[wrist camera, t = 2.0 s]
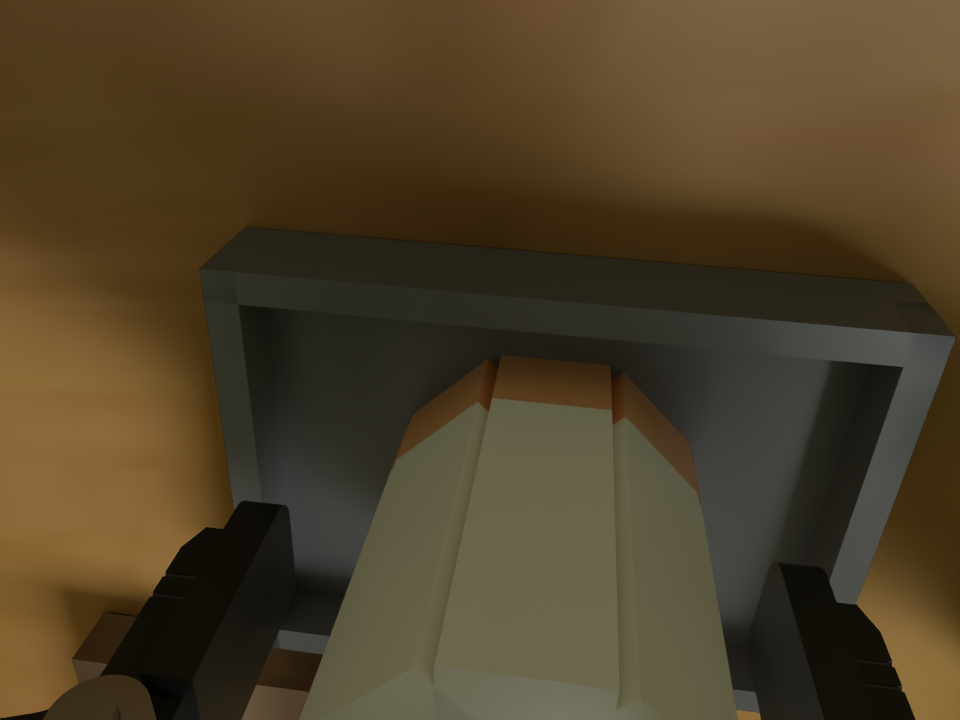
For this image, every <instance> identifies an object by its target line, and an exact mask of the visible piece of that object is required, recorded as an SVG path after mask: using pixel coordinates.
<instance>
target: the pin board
mask: <svg viewBox="0 0 960 720" xmlns="http://www.w3.org/2000/svg"><path fill="white" fill-rule="evenodd" d="M136 618H137V617H133V616H126V615H118V614H111V613H104V614H103V615H102V617H101V618H100V620H99V621H98V622H97V624H96V625H95V627H94V628H93V630H92V631H91V632H90V634H89V635H88V637H87V638H86V640H85V641H84V642H83V644H82V645H81V647H80V648H79V650H78V651H77V652H76V654H75V655H74V657H73V658H72V662H73V665H74V668H75V671H76V675H77V678H78V681H79V683H82V682H84V681H86V680H89V679H92V678H95V677H99V676H100V674H101V673H102V671H103V670H104V669H105V667H106V666H107V664H108V662H109V661H110V659H111V658H112V656H113V654H114V653H115V651H116V650H117V648H118V647H119V645H120V643H121V642H122V640H123V639H124V637H125V635H126V634H127V632H128V631H129V629H130V628H131V626H132V624H133V623H134V621H135V620H136ZM322 657H323V654H316V653H309V652H301V651H294V650H286V649H279V648H272V649H271V651H270V654H269V656H268V658H267V661H266V663H265V665H264V668H263V670H262V673H261V675H260V677H259V680H258V682H257V684H256V687H255V689H254V691H253V694H252V696H251V698H250V701H249V703H248V706H247V708H246V710H245V713H244V715H243V717H242V720H299V719H300V717H301V714H302V711H303V708H304V706H305V703H306V700H307V697H308V695H309V692H310V689H311V687H312V684H313V681H314V678H315V676H316V673H317V670H318V668H319V665H320V662H321V659H322Z"/></svg>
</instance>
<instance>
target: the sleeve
mask: <svg viewBox="0 0 960 720" xmlns="http://www.w3.org/2000/svg"><path fill="white" fill-rule="evenodd" d="M299 720H738V717H737V711H736V705H735V700H734V694H733V688H732V682H731V676H730V670H729V665H728V659H727V653H726V647H725V641H724V636H723V630H722V624H721V618H720V612H719V606H718V601H717V595H716V589H715V583H714V577H713V571H712V566H711V560H710V554H709V548H708V542H707V536H706V531H705V525H704V519H703V513H702V507H701V501H700V496H699V490H698V484H697V478H696V472H695V466H694V461H693V455H692V454H691V451H690V445H689V442H688V441H687V440H686V439H685V438H684V437H683V436H682V435H681V434H680V433H679V432H678V430H677V429H676V428H675V427H674V426H673V425H672V424H671V423H670V422H669V421H668V420H667V418H666V417H665V416H664V415H663V414H662V413H661V412H660V411H659V410H658V409H657V408H656V407H655V405H654V404H653V403H652V402H651V401H650V400H649V399H648V398H647V397H646V396H645V395H644V393H643V392H642V391H641V390H640V389H639V388H638V387H637V386H636V385H635V384H634V383H633V381H632V380H631V379H630V378H629V377H628V376H627V375H626V374H625V373H624V372H622V373H620V374H619V375H617V376H616V377H614V378H613V379H611V365H601V364H590V363H580V362H570V361H559V360H549V359H539V358H528V357H518V356H508V355H501V358H500V363H499V368H497V367H496V366H495V365H494V364H493V363H492V362H491V361H490V360H489V359H487V360H485V361H484V362H483V363H481V364H480V365H478V366H477V367H476V368H474V369H473V370H472V371H470V372H469V373H468V374H466V375H465V376H464V377H462V378H461V379H460V380H458V381H457V382H456V383H454V384H453V385H452V386H450V387H449V388H448V389H446V390H445V391H444V392H442V393H441V394H440V395H438V396H437V397H436V398H434V399H433V400H432V401H430V402H429V403H428V404H426V405H425V406H423V407H422V408H421V409H419V410H418V411H417V412H415V413H414V414H413V416H412V418H411V421H410V424H408V425H407V428H406V431H405V434H404V436H403V439H402V442H401V445H400V447H399V450H398V453H397V455H396V458H395V461H394V464H393V466H392V469H391V472H390V474H389V477H388V480H387V483H386V485H385V488H384V491H383V493H382V496H381V499H380V502H379V504H378V507H377V510H376V513H375V515H374V518H373V521H372V523H371V526H370V529H369V532H368V534H367V537H366V540H365V542H364V545H363V548H362V551H361V553H360V556H359V559H358V561H357V564H356V567H355V570H354V572H353V575H352V578H351V581H350V583H349V586H348V589H347V591H346V594H345V597H344V600H343V602H342V605H341V608H340V610H339V613H338V616H337V619H336V621H335V624H334V627H333V629H332V632H331V635H330V638H329V640H328V643H327V646H326V649H325V651H324V654H323V657H322V659H321V662H320V665H319V668H318V670H317V673H316V676H315V678H314V681H313V684H312V687H311V689H310V692H309V695H308V697H307V700H306V703H305V706H304V708H303V711H302V714H301V717H300V719H299Z"/></svg>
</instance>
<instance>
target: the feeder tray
mask: <svg viewBox="0 0 960 720" xmlns="http://www.w3.org/2000/svg"><path fill="white" fill-rule="evenodd" d="M200 276H201V283H202V290H203V297H204V304H205V311H206V318H207V325H208V332H209V339H210V346H211V353H212V359H213V366H214V373H215V380H216V387H217V394H218V401H219V408H220V415H221V422H222V429H223V436H224V443H225V450H226V457H227V464H228V471H229V478H230V485H231V491H232V498H233V505H234V510H235V509H236V507H237V506H238V504H239V503H240V502H241V501H244V500H245V501H254V502H263V503H272V504H281V505H286V506H287V507H288V509H289V513H290V523H291V533H292V544H293V554H294V565H295V583H294V590H293V595H292V599H291V603H290V606H289V609H288V611H287V614H286V616H285V618H284V621H283V623H282V625H281V628H280V630H279V632H278V635H277V637H276V639H275V642H274V644H273V647H272V648H279V649H286V650H294V651H301V652H309V653H316V654H324V651H325V649H326V646H327V643H328V640H329V638H330V635H331V632H332V629H333V627H334V624H335V621H336V619H337V616H338V613H339V610H340V608H341V605H342V602H343V600H344V597H345V594H346V591H347V589H348V586H349V583H350V581H351V578H352V575H353V572H354V570H355V567H356V564H357V561H358V559H359V556H360V553H361V551H362V548H363V545H364V542H365V540H366V537H367V534H368V532H369V529H370V526H371V523H372V521H373V518H374V515H375V513H376V510H377V507H378V504H379V502H380V499H381V496H382V493H383V491H384V488H385V485H386V483H387V480H388V477H389V474H390V472H391V469H392V466H393V464H394V461H395V458H396V455H397V453H398V450H399V447H400V445H401V442H402V439H403V436H404V434H405V431H406V428H407V425H408V424H410V421H411V418H412V416H413V414H414V413H415V412H417V411H418V410H419V409H421V408H422V407H423V406H425V405H426V404H428V403H429V402H430V401H432V400H433V399H434V398H436V397H437V396H438V395H440V394H441V393H442V392H444V391H445V390H446V389H448V388H449V387H450V386H452V385H453V384H454V383H456V382H457V381H458V380H460V379H461V378H462V377H464V376H465V375H466V374H468V373H469V372H470V371H472V370H473V369H474V368H476V367H477V366H478V365H480V364H481V363H483V362H484V361H485V360H487V359H489V360H490V361H491V362H492V363H493V364H494V365H495V366H496V367H497V368H499V363H500V358H501V355H508V356H518V357H528V358H539V359H549V360H559V361H570V362H580V363H590V364H601V365H611V379H613V378H614V377H616V376H617V375H619V374H620V373H622V372H624V373H625V374H626V375H627V376H628V377H629V378H630V379H631V380H632V381H633V383H634V384H635V385H636V386H637V387H638V388H639V389H640V390H641V391H642V392H643V393H644V395H645V396H646V397H647V398H648V399H649V400H650V401H651V402H652V403H653V404H654V405H655V407H656V408H657V409H658V410H659V411H660V412H661V413H662V414H663V415H664V416H665V417H666V418H667V420H668V421H669V422H670V423H671V424H672V425H673V426H674V427H675V428H676V429H677V430H678V432H679V433H680V434H681V435H682V436H683V437H684V438H685V439H686V440H687V441H688V442H689V445H690V451H691V454H692V455H693V461H694V466H695V472H696V478H697V484H698V490H699V496H700V501H701V507H702V513H703V519H704V525H705V531H706V536H707V542H708V548H709V554H710V560H711V566H712V571H713V577H714V583H715V589H716V595H717V601H718V606H719V612H720V618H721V624H722V630H723V636H724V641H725V647H726V653H727V659H728V665H729V670H730V676H731V682H732V688H733V694H734V700H735V705H736V710H743V711H750V712H758V713H760V711H759V706H758V702H757V697H756V692H755V687H754V683H753V678H752V673H751V668H750V662H749V637H750V630H751V626H752V622H753V619H754V616H755V613H756V609H757V606H758V603H759V599H760V596H761V593H762V589H763V586H764V583H765V580H766V576H767V573H768V570H769V568H770V566H771V564H772V563H773V562H779V563H788V564H797V565H805V566H814V567H821V568H823V569H824V570H825V572H826V574H827V576H828V579H829V582H830V585H831V587H832V590H833V593H834V596H835V599H836V602H838V603H847V604H855V605H856V602H857V600H858V597H859V594H860V592H861V589H862V586H863V584H864V581H865V578H866V576H867V573H868V570H869V568H870V565H871V562H872V560H873V557H874V554H875V552H876V549H877V546H878V544H879V541H880V538H881V536H882V533H883V530H884V528H885V525H886V522H887V520H888V517H889V514H890V512H891V509H892V506H893V504H894V501H895V499H896V496H897V493H898V491H899V488H900V485H901V483H902V480H903V477H904V475H905V472H906V469H907V467H908V464H909V461H910V459H911V456H912V453H913V451H914V448H915V445H916V443H917V440H918V437H919V435H920V432H921V429H922V427H923V424H924V421H925V419H926V416H927V413H928V411H929V408H930V405H931V403H932V400H933V397H934V395H935V392H936V389H937V387H938V384H939V382H940V379H941V376H942V374H943V371H944V368H945V366H946V363H947V360H948V358H949V355H950V352H951V350H952V347H953V344H954V342H955V339H956V336H955V335H954V334H953V332H952V331H951V330H950V329H949V328H948V326H947V325H946V324H945V323H944V322H943V320H942V319H941V318H940V317H939V316H938V314H937V313H936V312H935V311H934V309H933V308H932V307H931V306H930V305H929V303H928V302H927V301H926V300H925V299H924V297H923V296H922V295H921V294H920V293H919V291H918V290H917V289H916V288H915V287H914V285H913V284H910V283H898V282H887V281H875V280H863V279H851V278H839V277H828V276H816V275H804V274H792V273H780V272H769V271H757V270H745V269H733V268H721V267H710V266H698V265H686V264H674V263H662V262H651V261H639V260H627V259H615V258H603V257H592V256H580V255H568V254H556V253H544V252H533V251H521V250H509V249H497V248H485V247H474V246H462V245H450V244H438V243H426V242H415V241H403V240H391V239H379V238H367V237H356V236H344V235H332V234H320V233H308V232H297V231H285V230H273V229H261V228H250V227H245V228H244V229H243V230H241V231H240V232H239V233H238V234H237V235H236V236H235V237H234V238H233V239H232V240H230V241H229V242H228V243H227V244H226V245H225V246H224V247H223V248H222V249H221V250H219V251H218V252H217V253H216V254H215V255H214V256H213V257H212V258H211V259H210V260H208V261H207V262H206V263H205V264H204V265H203V266H202V267H201V268H200Z"/></svg>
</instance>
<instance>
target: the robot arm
mask: <svg viewBox="0 0 960 720" xmlns="http://www.w3.org/2000/svg"><path fill="white" fill-rule="evenodd" d="M294 583H295V565H294V554H293V544H292V533H291V523H290V513H289V509H288V507H287V506H286V505H281V504H272V503H263V502H254V501H245V500H244V501H241V502H240V503H239V504H238V506H237V507H236V509H235V510H234V512H233V514H232V516H231V517H230V519H229V521H228V522H227V524H226V526H225V528H224V529H217V528H208V527H206V528H205V529H204V530H202V531H201V532H200V533H199V534H197V535H196V536H195V537H194V538H192V539H191V540H190V541H188V542H187V543H186V544H185V545H183V546H182V547H181V548H180V550H179V551H178V553H177V555H176V556H175V558H174V559H173V561H172V563H171V564H170V566H169V567H168V569H167V570H166V575H165V577H162V578H161V580H160V582H159V583H158V585H157V586H156V588H155V589H154V591H153V596H152V597H149V599H148V601H147V602H146V604H145V605H144V607H143V608H142V610H141V612H140V613H139V615H138V616H137V618H136V620H135V621H134V623H133V624H132V626H131V628H130V629H129V631H128V632H127V634H126V635H125V637H124V639H123V640H122V642H121V643H120V645H119V647H118V648H117V650H116V651H115V653H114V654H113V656H112V658H111V659H110V661H109V662H108V664H107V666H106V667H105V669H104V670H103V671H102V673H101V674H100V676H99V677H95V678H92V679H89V680H86V681H84V682H82V683H79V684H78V685H76V686H74V687H73V688H71V689H69V690H68V691H67V692H65V693H64V694H63V695H62V696H60V697H59V698H58V699H57V700H56V701H55V702H54V703H53V705H52V706H51V707H50V708H49V709H48V710H45V711H41V712H36V713H32V714H25V715H19V716H13V717H7V718H0V720H242V717H243V715H244V713H245V710H246V708H247V706H248V703H249V701H250V698H251V696H252V694H253V691H254V689H255V687H256V684H257V682H258V680H259V677H260V675H261V673H262V670H263V668H264V665H265V663H266V661H267V658H268V656H269V654H270V651H271V649H272V647H273V644H274V642H275V639H276V637H277V635H278V632H279V630H280V628H281V625H282V623H283V621H284V618H285V616H286V614H287V611H288V609H289V606H290V603H291V599H292V595H293V590H294ZM749 662H750V668H751V673H752V678H753V683H754V687H755V692H756V697H757V702H758V706H759V711H760V716H761V720H915V717H914V715H913V712H912V710H911V707H910V705H909V702H908V700H907V697H906V695H905V692H902V685H901V682H900V680H899V677H898V675H897V672H896V670H895V668H894V667H892V660H891V657H890V655H889V652H888V650H887V647H886V645H885V642H884V640H883V637H882V635H881V632H880V631H879V630H878V629H877V628H876V627H875V625H874V624H873V623H872V622H871V621H870V620H869V619H868V617H867V616H866V615H865V614H864V613H863V612H862V611H861V609H860V608H859V607H858V606H857V605H855V604H847V603H838V602H836V599H835V596H834V593H833V590H832V587H831V585H830V582H829V579H828V576H827V574H826V572H825V570H824V569H823V568H821V567H814V566H805V565H797V564H788V563H779V562H773V563H772V564H771V566H770V568H769V570H768V573H767V576H766V580H765V583H764V586H763V589H762V593H761V596H760V599H759V603H758V606H757V609H756V613H755V616H754V619H753V622H752V626H751V630H750V637H749Z"/></svg>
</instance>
